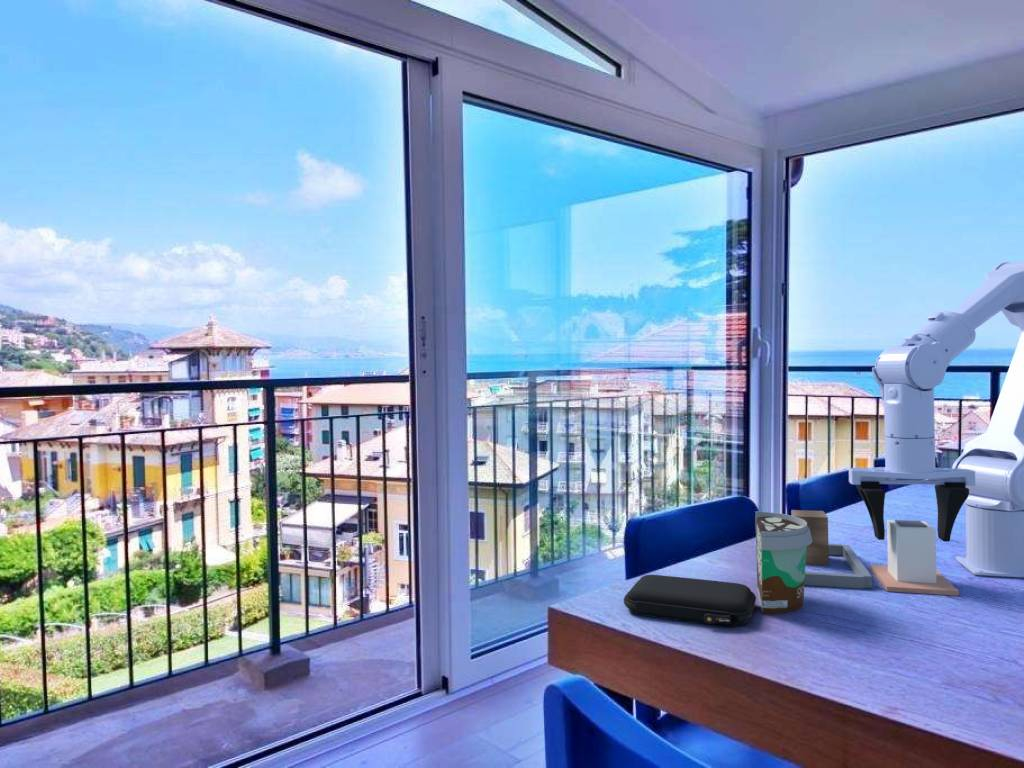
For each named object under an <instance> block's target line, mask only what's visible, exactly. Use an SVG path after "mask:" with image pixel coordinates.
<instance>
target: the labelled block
mask: <svg viewBox="0 0 1024 768" xmlns="http://www.w3.org/2000/svg"><path fill="white" fill-rule="evenodd" d="M886 531H887V532H886V533H887V534H886V536H887V538H886V539H887V540H886V541H887V547H886V548H887V550H886V551H887V566H888V572H889V573H890V574H891V575H892V576H893V577H894V578H895V579H896V580H897V581H902V582H923V583H936V570H937V538H936V537H937V536H936V534H937V533H936V532H937V531H936V528H935V527H933V526H932V525H931V524H929V523H927V522H926V521H925V520H909V519H908V520H906V519H900V520H898V519H895V520H892V519H891V520H890V519H887V520H886Z"/></svg>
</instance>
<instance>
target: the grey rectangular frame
mask: <svg viewBox="0 0 1024 768" xmlns="http://www.w3.org/2000/svg"><path fill="white" fill-rule="evenodd" d="M828 550H829V556H841V557H843V558H844V559H845V562H846V563H847V565H848V566H849V567H850V570H851V571H852V573H851V574H850V573H835V572H817V571H816V572H813V571H805V581H804V586H812V587H826V588H827V587H828V588H845V589H862V590H863V589H864V590H865V588H867V589H872V588H873V577H872V575H871V574H870V572H869V571H868V569H867V567H865V565H864V564H863V562H862V561H861V560H860V558H859V557H858V556H857V554H856V552H855V551H854V550H853V549H852V548H851V545H849V544H842V543H829V542H828ZM853 573H854V574H853Z"/></svg>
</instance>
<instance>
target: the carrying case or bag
mask: <svg viewBox="0 0 1024 768" xmlns="http://www.w3.org/2000/svg"><path fill="white" fill-rule="evenodd" d="M756 601H757V596H756V595H755V593H754V592H753V591H752V590H751V588H750V587H749V586H747V585H746V584H742V583H738V582H732V581H731V582H730V581H729V582H728V581H720V580H711V579H703V578H702V579H700V578H692V577H691V578H690V577H682V576H681V577H680V576H671V575H660V574H645V575H643V576H641V577H640V579H639V580H637V581H636V582H635V584H634V585H633V586H632V587H631V589H630V590H629V591H628V592H627V593H626V594H625V595H624V597H623V604H624V606H625V607H626V608H627V609H628V610H629V612H630V613H631V614H635V615H639V616H645V617H652V616H653V617H654V618H660V617H661V619H667V620H668V619H669V620H677V621H683V622H684V621H685V622H693V623H699V624H700V623H701V624H709V625H717V626H723V627H724V626H725V627H742V626H744V625H745V624H747V621H750V619H751V617H752V615H753V613H754V612H753V611H754V608H755V605H756ZM653 617H652V618H653Z"/></svg>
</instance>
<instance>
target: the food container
mask: <svg viewBox="0 0 1024 768" xmlns="http://www.w3.org/2000/svg"><path fill="white" fill-rule="evenodd" d="M754 519H755V550H756V586H757V587H756V590H757V593H758V594H757V595H758V600H759V604H760V609H761V614H762V615H787V614H792V613H796V612H798V611H800V610H802V608H803V606H804V597H805V595H804V594H805V585H804V581H805V572H806V565H807V564H806V547H807V546H808V545H810V544H811V543H812V537H811V533H810V528H809V527H808V526H807V522H806V521H805V520H803V519H801V518H798V517H795V516H791V515H789V514H785V513H780V512H779V513H777V512H771V511H770V512H769V511H755V518H754Z"/></svg>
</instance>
